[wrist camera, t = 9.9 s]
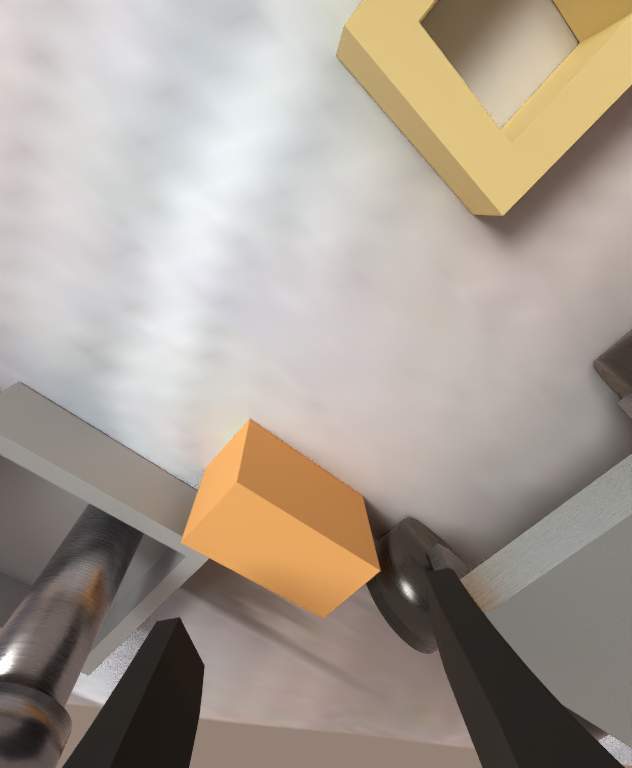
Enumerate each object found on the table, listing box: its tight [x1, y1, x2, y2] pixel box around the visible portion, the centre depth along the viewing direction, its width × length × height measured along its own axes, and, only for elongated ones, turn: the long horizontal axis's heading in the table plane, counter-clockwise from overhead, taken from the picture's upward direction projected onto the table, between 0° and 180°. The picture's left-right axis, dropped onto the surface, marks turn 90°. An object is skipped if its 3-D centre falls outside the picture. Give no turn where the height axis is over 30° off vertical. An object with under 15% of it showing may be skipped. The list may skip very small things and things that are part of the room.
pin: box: [0, 503, 144, 768], centre depth 12 cm, size 3×3×8 cm
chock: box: [181, 419, 381, 618], centre depth 15 cm, size 6×3×4 cm, turn 50°
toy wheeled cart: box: [366, 330, 632, 748], centre depth 16 cm, size 15×14×6 cm
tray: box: [0, 382, 209, 675], centre depth 16 cm, size 9×9×2 cm
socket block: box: [336, 0, 632, 216], centre depth 10 cm, size 6×6×2 cm
